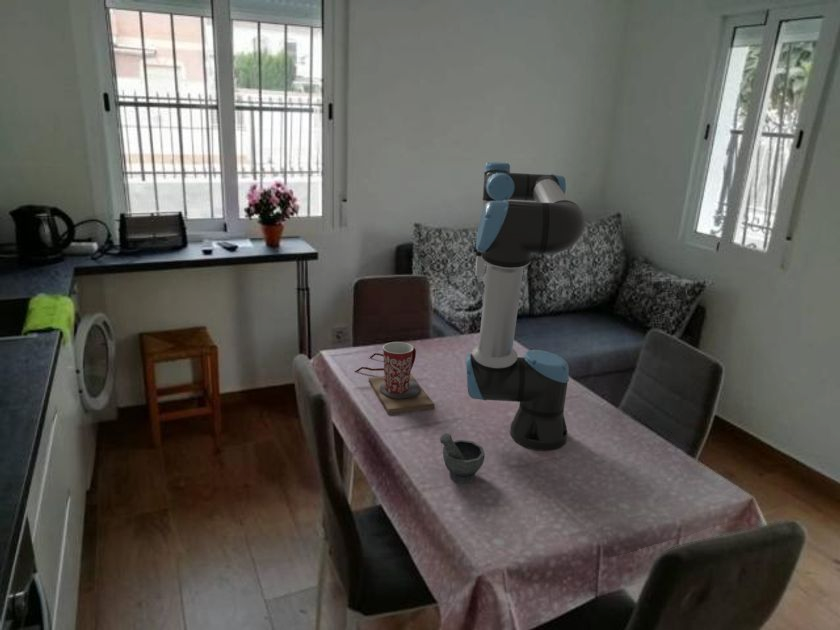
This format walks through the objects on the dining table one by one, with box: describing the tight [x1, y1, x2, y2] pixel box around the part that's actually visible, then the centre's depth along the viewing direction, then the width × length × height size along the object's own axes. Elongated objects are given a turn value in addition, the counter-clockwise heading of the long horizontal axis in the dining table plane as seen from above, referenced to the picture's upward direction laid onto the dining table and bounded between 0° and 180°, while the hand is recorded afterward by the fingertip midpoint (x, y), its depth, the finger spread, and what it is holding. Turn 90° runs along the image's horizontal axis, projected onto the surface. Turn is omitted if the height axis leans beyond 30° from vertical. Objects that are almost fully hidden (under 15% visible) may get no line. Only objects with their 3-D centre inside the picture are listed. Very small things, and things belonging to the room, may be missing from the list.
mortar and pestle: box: [439, 433, 486, 484], centre depth 142 cm, size 11×9×12 cm
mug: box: [382, 341, 417, 394], centre depth 181 cm, size 13×9×14 cm
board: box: [368, 373, 435, 415], centre depth 183 cm, size 22×14×2 cm, turn 19°
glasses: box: [354, 352, 384, 373], centre depth 202 cm, size 13×13×5 cm
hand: (488, 281), depth 191 cm, fingers open, 13 cm apart
